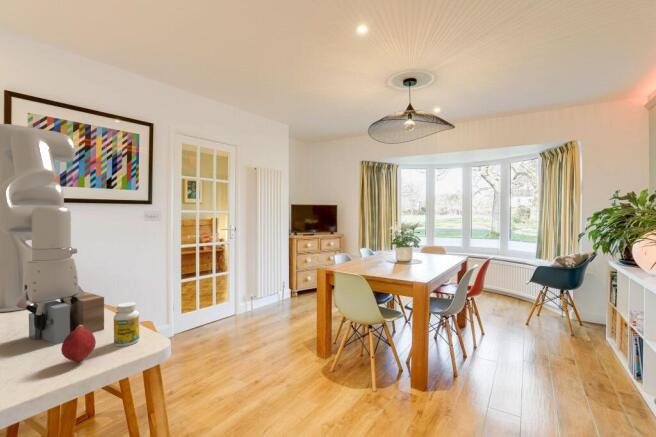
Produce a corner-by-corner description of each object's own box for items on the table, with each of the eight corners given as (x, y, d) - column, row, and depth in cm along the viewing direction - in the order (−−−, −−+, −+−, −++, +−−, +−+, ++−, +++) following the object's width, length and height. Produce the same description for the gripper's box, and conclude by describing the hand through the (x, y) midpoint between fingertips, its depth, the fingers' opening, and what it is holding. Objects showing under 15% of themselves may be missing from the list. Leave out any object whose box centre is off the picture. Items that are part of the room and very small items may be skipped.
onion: (68, 371, 65) (68, 332, 65) (56, 363, 69) (56, 326, 68) (100, 360, 70) (100, 324, 70) (88, 353, 73) (88, 319, 73)
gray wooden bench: (29, 336, 82) (28, 313, 82) (69, 326, 90) (68, 305, 90) (35, 339, 81) (35, 316, 80) (75, 329, 88) (75, 307, 88)
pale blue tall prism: (33, 337, 82) (33, 302, 82) (52, 332, 86) (52, 299, 85) (50, 346, 77) (49, 309, 77) (69, 340, 80) (69, 305, 80)
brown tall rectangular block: (65, 328, 89) (65, 295, 89) (86, 322, 93) (86, 291, 93) (83, 335, 84) (82, 301, 84) (104, 329, 88) (104, 296, 88)
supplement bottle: (138, 336, 84) (138, 300, 83) (139, 343, 79) (139, 305, 79) (113, 341, 81) (113, 303, 81) (113, 348, 76) (113, 308, 76)
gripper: (83, 250, 90) (83, 315, 91) (0, 257, 76) (1, 334, 76) (96, 252, 86) (96, 320, 87) (12, 260, 72) (13, 341, 72)
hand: (52, 325), depth 81 cm, fingers open, 3 cm apart
